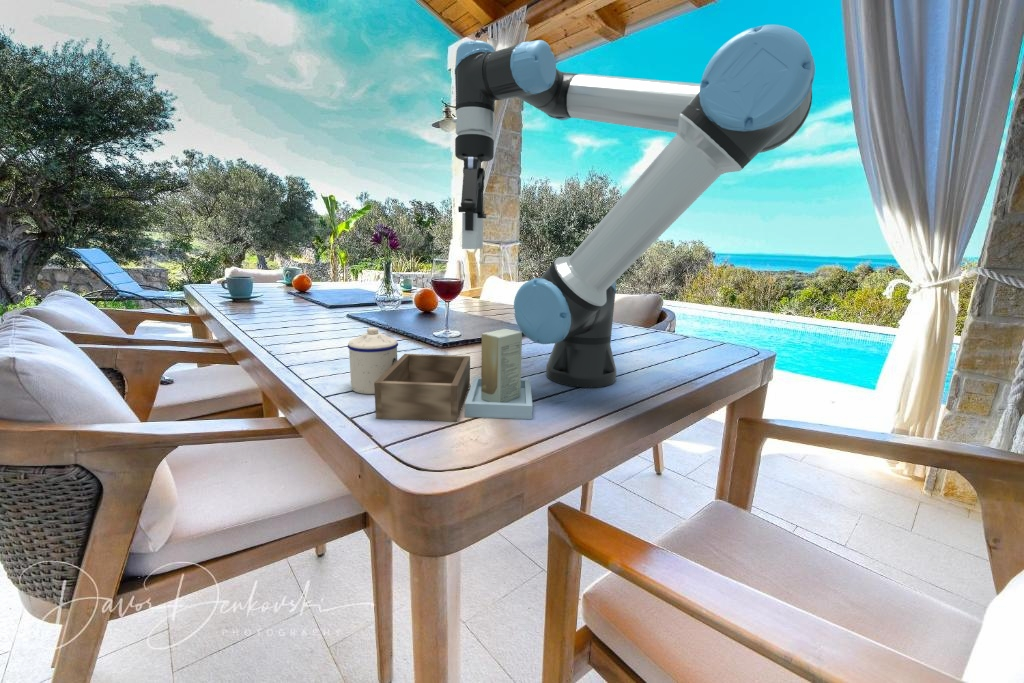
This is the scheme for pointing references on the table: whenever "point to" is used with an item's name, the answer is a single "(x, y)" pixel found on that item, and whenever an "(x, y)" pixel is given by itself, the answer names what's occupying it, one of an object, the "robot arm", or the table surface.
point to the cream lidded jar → (370, 359)
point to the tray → (509, 409)
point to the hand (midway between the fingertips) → (473, 249)
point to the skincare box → (501, 365)
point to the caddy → (423, 388)
